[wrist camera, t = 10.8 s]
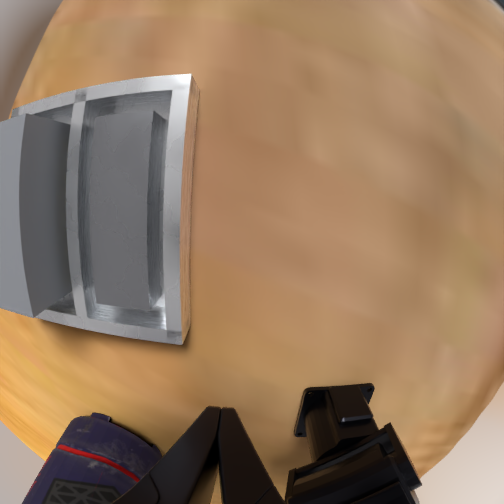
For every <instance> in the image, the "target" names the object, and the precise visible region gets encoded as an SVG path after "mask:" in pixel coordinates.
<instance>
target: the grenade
mask: <svg viewBox="0 0 504 504" xmlns="http://www.w3.org/2000/svg"><path fill="white" fill-rule="evenodd" d="M110 418H111V417H109V416H107V415H104V414H100V413H92V415H91V416H90V417H86V416H80V417H77V418H74V419H73V420H72V421H71V422H70V424H69V425H68V427H67V428H66V430H65V432H64V433H63V435H62V436H61V438H60V440H59V441H58V443H57V444H56V448H55V449H54V450H53V451H52V452H51V454H50V455H49V457H48V459H47V460H46V462H45V464H44V465H43V467H42V469H41V471H40V472H39V474H38V476H37V477H36V479H35V481H34V483H33V485H32V486H31V488H30V490H29V492H28V494H27V495H26V497H25V499H24V501H23V503H22V504H111V503H113V502H114V501H115V500H117V499H118V498H120V497H121V496H122V495H123V494H125V493H126V492H127V491H129V490H130V489H131V488H132V487H133V486H134V485H135V484H136V483H137V482H139V481H140V480H141V479H142V478H143V477H144V476H145V474H146V473H149V471H150V470H151V468H152V467H153V466H154V465H155V464H156V463H157V462H158V461H159V460H160V459H161V458H162V455H161V453H160V451H159V449H158V448H157V447H156V446H155V445H153V446H152V447H150V446H149V445H148V444H147V443H146V442H144V441H143V440H141V439H140V438H138V437H137V436H136V435H134V434H132V433H130V432H129V431H127V430H125V429H123V428H121V427H119V426H117V425H115V424H112V423H110V422H109V420H110Z"/></svg>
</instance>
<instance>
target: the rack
mask: <svg viewBox="0 0 504 504" xmlns="http://www.w3.org/2000/svg"><path fill="white" fill-rule="evenodd" d="M199 92H200V89H199V87H198V85H197V83H196V82H195V80H194V78H193V76H192V74H180V75H166V76H155V77H145V78H137V79H130V80H123V81H117V82H111V83H105V84H100V85H95V86H90V87H86V88H81V89H77V90H73V91H69V92H65V93H61V94H58V95H54V96H51V97H48V98H44V99H41V100H38V101H35V102H32V103H29V104H26V105H23V106H20V107H18V108H15V109H13V110H12V116H11V118H13V117H16V116H19V115H22V114H25V113H27V114H31V115H35V116H40V117H44V118H47V119H51V120H55V121H59V122H63V123H66V124H70V125H71V126H70V135H69V144H68V156H67V173H66V228H67V245H68V257H69V267H70V276H71V284H72V291H71V292H70V293H68V294H67V295H66V296H64V297H63V298H61V299H60V300H58V301H57V302H55V303H54V304H53V305H51V306H50V307H48V308H47V309H45V310H44V311H43V312H41V313H40V314H38V315H37V316H36V317H35V318H39V319H43V320H47V321H51V322H55V323H59V324H63V325H67V326H72V327H76V328H81V329H85V330H90V331H95V332H100V333H105V334H111V335H116V336H122V337H128V338H134V339H141V340H148V341H155V342H162V343H170V344H179V345H183V342H184V340H185V337H186V335H187V332H188V330H189V327H190V325H191V320H190V224H191V196H192V176H193V160H194V146H195V133H196V122H197V111H198V101H199Z"/></svg>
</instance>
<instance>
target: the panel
mask: <svg viewBox="0 0 504 504" xmlns="http://www.w3.org/2000/svg"><path fill="white" fill-rule="evenodd" d="M70 126H71V125H70V124H66V123H63V122H59V121H55V120H51V119H47V118H44V117H40V116H35V115H31V114H27V113H25V114H22V115H19V116H16V117H13V118H11V119H8V120H5V121H3V122H0V308H2V309H5V310H8V311H11V312H15V313H18V314H21V315H25V316H28V317H32V318H34V317H36V316H37V315H38V314H40V313H41V312H43V311H44V310H45V309H47V308H48V307H50V306H51V305H53V304H54V303H55V302H57V301H58V300H60V299H61V298H63V297H64V296H66V295H67V294H68V293H70V292H71V291H72V284H71V276H70V267H69V257H68V245H67V228H66V173H67V156H68V144H69V135H70Z"/></svg>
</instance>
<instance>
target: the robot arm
mask: <svg viewBox="0 0 504 504" xmlns="http://www.w3.org/2000/svg"><path fill="white" fill-rule="evenodd" d="M374 389H375V388H374V386H373V384H372V383H367V384H357V385H345V386H329V387H310V388H307V389H306V390H305V391H304V394H303V399H302V403H301V407H300V411H299V415H298V419H297V423H296V427H295V431H294V433H295V436H296V437H307V439H308V444H309V449H310V454H311V458H312V463H311V464H308V465H306V466H303V467H300V468H298V469H296V468H295V469H292V470H290V471H289V475H288V482H287V488H286V494H285V500H283V499H282V497H281V496H280V494H279V492H278V490H277V489H276V487H275V486H274V484H273V482H272V480H271V478H270V477H269V475H268V473H267V471H266V469H265V467H264V465H263V464H262V462H261V460H260V458H259V456H258V454H257V452H256V450H255V448H254V446H253V444H252V442H251V440H250V438H249V436H248V434H247V432H246V430H245V428H244V426H243V424H242V422H241V420H240V418H239V416H238V414H237V412H236V410H235V409H234V408H227V407H223V408H222V409H221V408H220V407H214V406H208V407H207V408H206V409H205V410H204V411H203V412H202V414H201V415H200V416H199V417H198V418H197V419H196V420H195V422H194V423H193V424H192V425H191V426H190V427H189V428H188V430H187V431H186V432H185V433H184V434H183V435H182V436H181V437H180V438H179V440H178V441H177V442H176V443H175V444H174V445H173V446H172V447H171V448H170V449H169V451H168V452H167V453H166V454H165V455H164V456H163V457H162V458H161V459H160V460H159V461H158V462H157V463H156V464H155V465H154V466H153V467H152V468H151V470H150V471H149V473H146V474H145V476H144V477H143V478H142V479H141V480H140V481H139V482H137V483H136V484H135V485H134V486H133V487H132V488H131V489H130V490H129V491H127V492H126V493H125V494H123V495H122V496H121V497H120V498H118V499H117V500H115V501H114V502H113V503H111V504H210V502H211V498H212V493H213V489H214V485H215V481H216V476H217V472H218V466H219V478H220V489H221V500H222V504H419V500H418V498H417V496H416V493H415V491H414V489H416V488H418V487H420V486H422V483H421V481H420V479H419V476H418V474H417V472H416V470H415V467H414V465H413V463H412V461H411V459H410V457H409V455H408V453H407V451H406V449H405V447H404V446H403V444H402V442H401V440H400V438H399V437H398V435H397V433H396V432H395V430H394V428H393V426H392V425H391V423H388V424H386V425H385V426H384V427H383V428H382V429H380V430H379V429H378V427H377V425H376V423H375V420H374V418H373V414H372V412H371V410H370V407H369V405H368V404H369V402H370V399H371V397H372V394H373V392H374ZM311 392H312V393H311ZM308 393H310V394H308Z"/></svg>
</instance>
